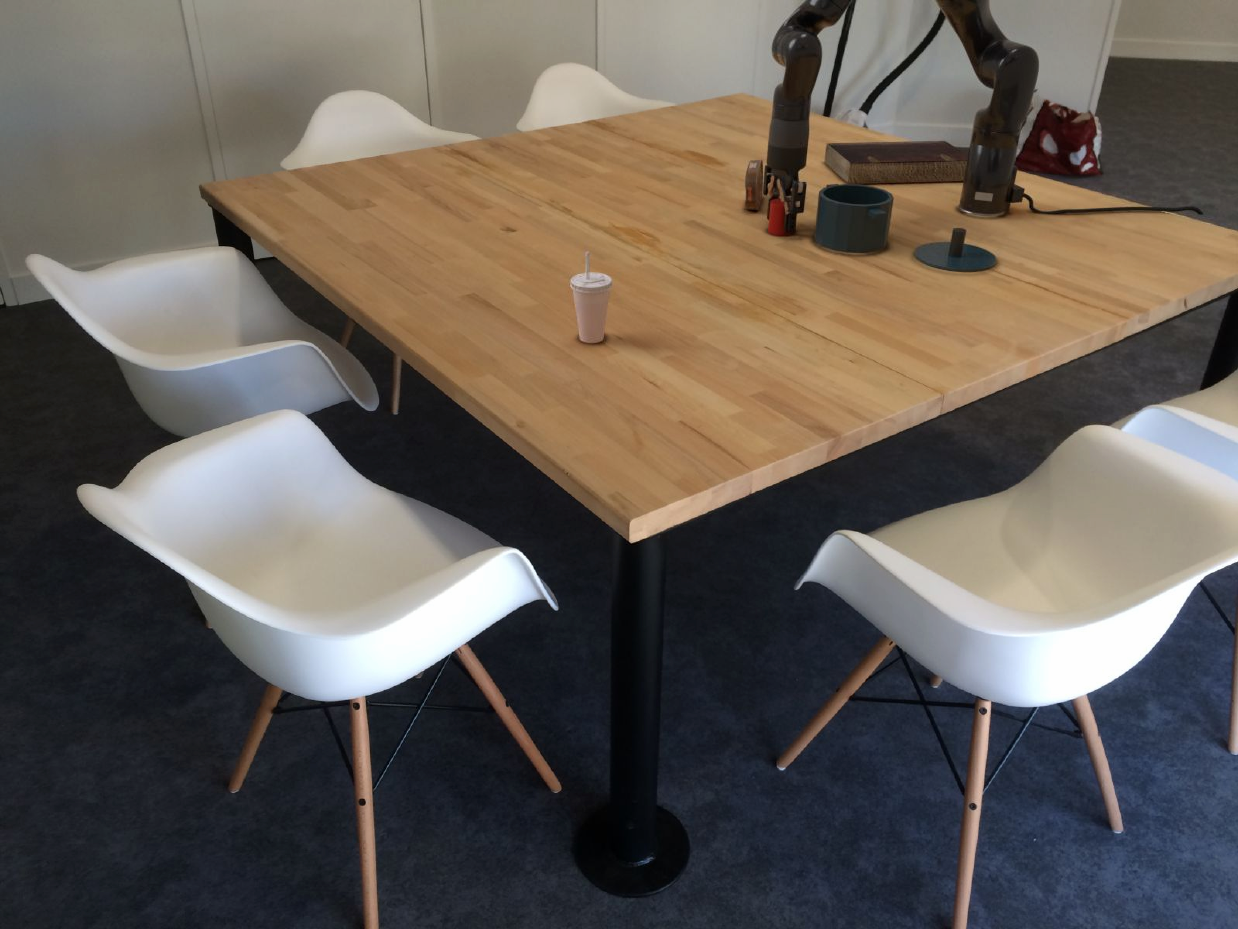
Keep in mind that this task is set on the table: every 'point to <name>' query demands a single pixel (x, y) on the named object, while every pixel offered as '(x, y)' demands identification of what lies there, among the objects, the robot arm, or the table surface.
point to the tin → (754, 184)
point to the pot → (853, 218)
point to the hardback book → (896, 161)
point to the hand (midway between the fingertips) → (780, 225)
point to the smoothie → (591, 303)
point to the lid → (955, 254)
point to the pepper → (777, 218)
